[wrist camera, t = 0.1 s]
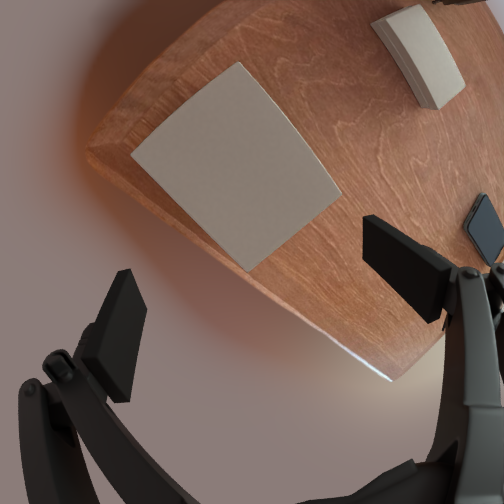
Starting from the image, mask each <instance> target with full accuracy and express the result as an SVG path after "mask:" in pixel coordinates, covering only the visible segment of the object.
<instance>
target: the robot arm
mask: <svg viewBox="0 0 504 504" xmlns="http://www.w3.org/2000/svg"><path fill="white" fill-rule="evenodd" d="M362 259H363V260H364V261H365V262H366V263H367V264H368V265H369V266H370V267H371V268H373V269H374V270H375V271H376V272H377V273H378V274H379V275H380V276H381V277H382V278H383V279H384V280H385V281H386V282H387V283H388V284H389V285H390V286H391V287H392V288H393V289H394V290H395V291H396V292H397V293H398V294H399V295H400V296H401V297H402V298H403V299H404V300H405V301H406V302H407V303H408V304H409V305H410V306H411V307H412V308H413V309H414V310H415V311H416V312H417V313H418V314H419V315H420V316H421V317H422V318H423V319H424V320H425V321H426V322H427V324H429V323H431V322H433V321H435V320H437V319H440V315H441V312H442V308H444V309H445V310H446V311H447V315H446V318H445V321H444V325H443V328H442V331H444V329H445V360H444V374H443V385H442V394H441V403H440V409H439V416H438V422H437V427H436V433H435V438H434V442H433V445H432V448H431V450H430V452H429V454H428V456H427V459H426V461H425V462H420V463H414V461H413V459H410V460H408V461H406V462H404V463H402V464H401V465H399V466H397V467H395V468H393V469H391V470H388V471H386V472H384V473H382V474H381V475H380V476H378V477H377V478H375V479H374V480H373V481H371V482H370V483H368V484H367V485H366V486H364V487H363V488H361V489H360V490H358V491H357V492H355V493H354V494H352V495H349V496H344V497H336V498H327V499H317V500H308V501H305V502H301V503H297V504H504V407H502V406H501V401H500V376H499V371H500V374H501V377H502V380H503V384H504V312H503V310H502V306H503V303H504V264H503V263H493V264H492V265H491V269H490V273H486V274H481V273H480V272H479V271H478V270H477V269H475V268H472V267H461V268H459V267H457V266H456V265H454V264H453V263H452V262H450V261H449V260H448V259H446V258H445V257H443V256H442V255H440V254H439V253H437V252H436V251H435V250H433V249H432V248H430V247H427V246H424V245H420V244H419V243H418V242H416V241H415V240H413V239H412V238H410V237H409V236H407V235H405V234H404V233H402V232H401V231H399V230H398V229H396V228H395V227H393V226H391V225H390V224H388V223H387V222H385V221H384V220H382V219H380V218H379V217H377V216H375V215H374V214H373V215H368V216H363V256H362ZM146 313H147V308H146V305H145V303H144V300H143V298H142V296H141V293H140V291H139V289H138V286H137V284H136V281H135V279H134V276H133V274H132V271H131V269H126V270H122V271H118V273H117V275H116V277H115V279H114V281H113V283H112V285H111V287H110V289H109V291H108V293H107V296H106V298H105V300H104V302H103V305H102V307H101V309H100V311H99V314H98V316H97V319H96V321H95V322H94V323H90V324H89V325H88V326H87V327H86V329H85V330H84V331H83V333H82V336H81V340H79V343H78V346H77V348H76V350H75V353H74V355H73V358H71V356H70V355H69V353H68V352H67V351H65V350H63V349H60V350H56V351H54V352H52V353H51V354H50V355H48V356H47V357H46V359H45V360H44V362H43V365H42V368H43V371H44V372H45V373H46V374H47V375H48V377H49V378H50V379H51V381H52V382H51V383H48V384H45V385H42V384H41V382H40V381H39V380H38V379H36V378H32V379H29V380H27V381H25V382H24V383H23V384H22V386H21V388H20V390H19V395H18V414H19V415H18V416H19V439H20V450H21V460H22V468H23V474H24V480H25V486H26V491H27V496H28V501H29V504H100V502H99V500H98V498H97V495H96V492H95V490H94V487H93V484H92V481H91V479H90V476H89V473H88V470H87V467H86V463H85V460H84V457H83V453H82V450H81V446H80V442H79V439H78V435H77V432H78V434H79V435H80V437H81V438H82V441H83V442H84V444H85V446H86V447H87V449H88V451H89V452H90V454H91V456H92V457H93V459H94V460H95V462H96V463H97V465H98V466H99V468H100V469H101V471H102V472H103V474H104V475H105V477H106V478H107V480H108V481H109V482H110V484H111V485H112V486H113V488H114V489H115V490H116V491H117V493H118V494H119V496H120V497H121V498H122V499H123V501H124V502H125V503H126V504H200V503H199V502H198V501H197V500H196V499H194V498H193V497H192V496H191V495H190V494H188V492H186V491H185V490H184V489H183V488H182V487H181V486H180V485H179V484H177V482H176V481H174V480H173V479H172V478H171V477H170V476H169V475H168V474H167V473H166V472H165V471H164V470H163V469H162V468H161V467H160V466H159V465H158V464H157V462H155V460H154V459H153V458H152V457H151V456H150V455H149V454H148V453H147V452H146V451H145V450H144V449H143V447H142V446H141V445H140V444H139V443H138V442H137V440H136V439H135V438H134V437H133V436H132V434H131V433H130V432H129V431H128V430H127V428H126V427H125V426H124V425H123V423H122V422H121V421H120V420H119V418H118V417H117V416H116V415H115V413H114V412H113V410H112V409H111V408H110V406H109V405H108V404H107V403H106V400H107V396H109V397H110V398H111V400H112V401H113V402H114V403H124V402H130V398H131V390H132V385H133V379H134V373H135V367H136V362H137V356H138V351H139V346H140V340H141V336H142V331H143V326H144V322H145V317H146ZM76 430H77V431H76Z"/></svg>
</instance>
